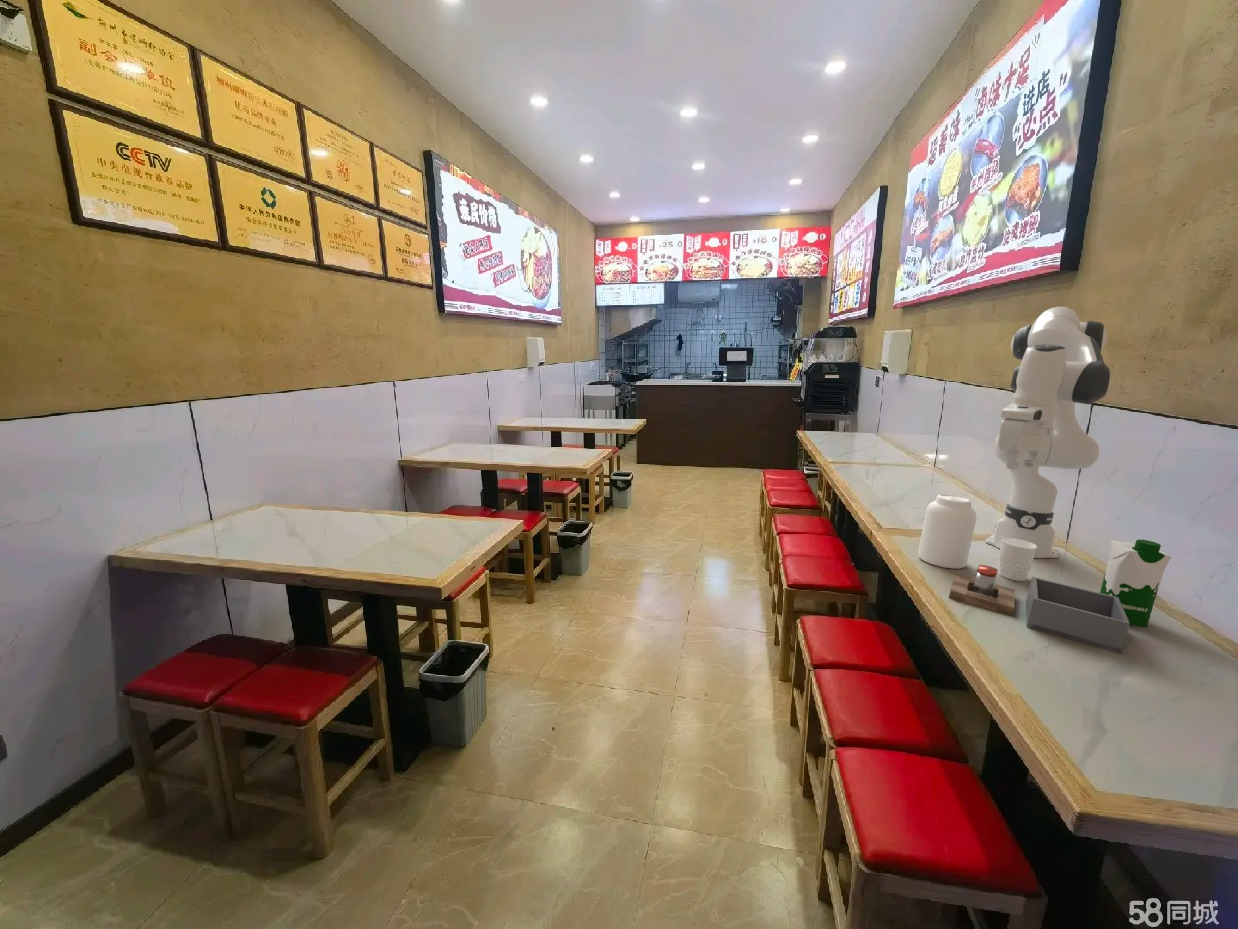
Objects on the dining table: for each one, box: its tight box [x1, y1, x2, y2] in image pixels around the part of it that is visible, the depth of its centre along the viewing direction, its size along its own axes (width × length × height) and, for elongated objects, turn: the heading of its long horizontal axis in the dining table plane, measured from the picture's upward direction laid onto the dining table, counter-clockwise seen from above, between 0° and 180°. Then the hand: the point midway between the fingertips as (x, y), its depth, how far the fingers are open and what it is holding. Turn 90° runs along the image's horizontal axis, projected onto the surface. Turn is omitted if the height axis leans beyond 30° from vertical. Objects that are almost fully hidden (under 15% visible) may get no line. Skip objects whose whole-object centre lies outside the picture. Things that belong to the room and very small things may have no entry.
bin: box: [1025, 576, 1131, 655], centre depth 118 cm, size 16×16×7 cm
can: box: [917, 493, 977, 570], centre depth 152 cm, size 12×12×20 cm
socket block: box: [948, 573, 1016, 617], centre depth 131 cm, size 13×13×2 cm
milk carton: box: [1099, 539, 1172, 628], centre depth 122 cm, size 9×9×20 cm
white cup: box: [997, 538, 1037, 582], centre depth 144 cm, size 8×8×10 cm
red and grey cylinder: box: [972, 564, 998, 597], centre depth 130 cm, size 4×4×8 cm
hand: (1020, 468), depth 127 cm, fingers open, 8 cm apart
